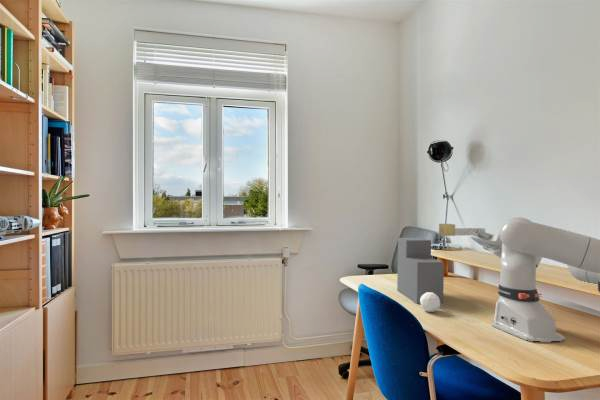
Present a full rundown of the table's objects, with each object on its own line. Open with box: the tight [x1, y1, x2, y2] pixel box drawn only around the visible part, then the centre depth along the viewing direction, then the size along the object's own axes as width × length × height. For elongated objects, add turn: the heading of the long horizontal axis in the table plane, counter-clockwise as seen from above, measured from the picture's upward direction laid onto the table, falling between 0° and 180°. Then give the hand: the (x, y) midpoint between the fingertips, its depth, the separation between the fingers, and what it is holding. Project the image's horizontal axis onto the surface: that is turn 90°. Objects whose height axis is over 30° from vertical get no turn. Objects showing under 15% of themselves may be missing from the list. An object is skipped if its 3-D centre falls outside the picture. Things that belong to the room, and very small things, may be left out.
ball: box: [419, 292, 441, 313], centre depth 145 cm, size 8×8×8 cm
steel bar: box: [438, 223, 486, 237], centre depth 164 cm, size 5×20×5 cm, turn 96°
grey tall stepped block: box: [396, 237, 445, 305], centre depth 167 cm, size 22×12×26 cm, turn 7°
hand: (475, 230), depth 165 cm, fingers closed on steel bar, 3 cm apart
